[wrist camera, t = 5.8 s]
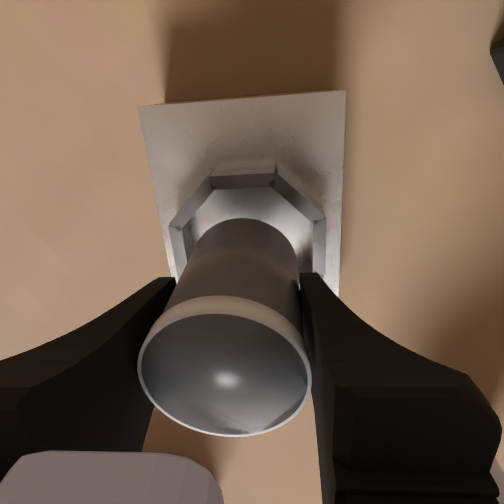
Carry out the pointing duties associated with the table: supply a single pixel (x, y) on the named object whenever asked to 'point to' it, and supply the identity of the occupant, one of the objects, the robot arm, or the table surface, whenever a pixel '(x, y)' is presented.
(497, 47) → the dark angular piece
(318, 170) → the square base socket
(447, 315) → the table surface
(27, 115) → the table surface
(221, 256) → the cup
